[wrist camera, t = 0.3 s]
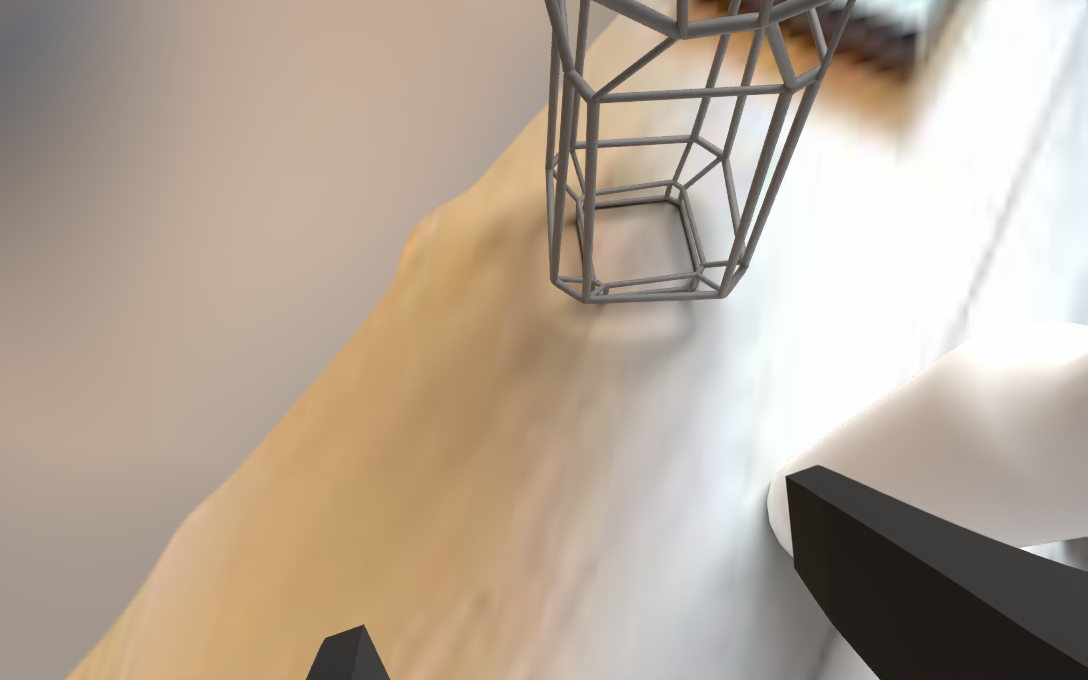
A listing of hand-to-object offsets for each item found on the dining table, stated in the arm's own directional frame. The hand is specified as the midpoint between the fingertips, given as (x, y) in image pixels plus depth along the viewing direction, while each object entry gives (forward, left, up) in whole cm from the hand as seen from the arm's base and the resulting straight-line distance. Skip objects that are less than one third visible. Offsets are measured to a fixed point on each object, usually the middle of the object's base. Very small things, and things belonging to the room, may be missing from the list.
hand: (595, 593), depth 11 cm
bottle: (+2, -18, -31) cm, 36 cm away
